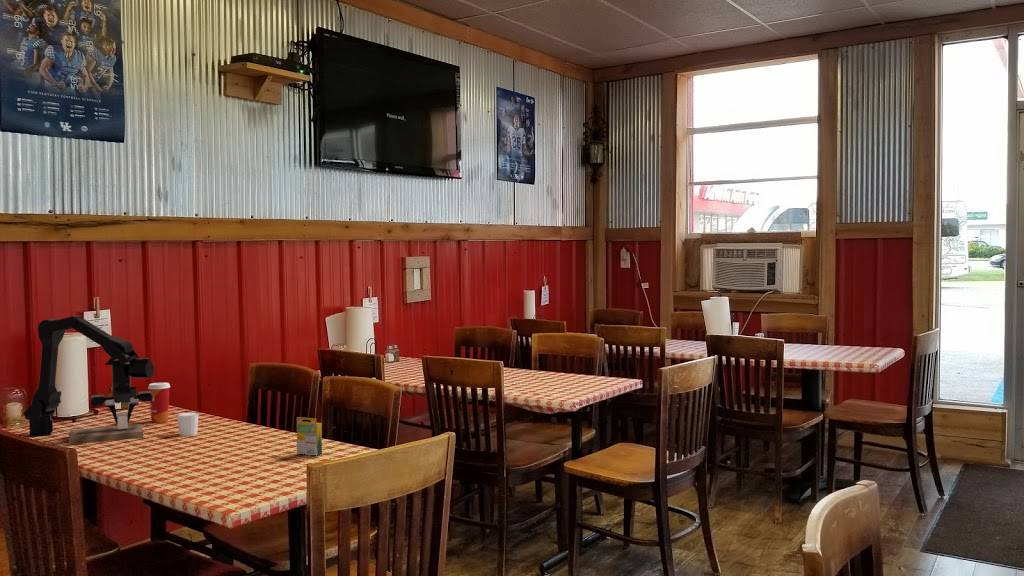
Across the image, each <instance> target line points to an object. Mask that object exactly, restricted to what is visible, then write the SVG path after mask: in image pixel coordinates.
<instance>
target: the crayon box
mask: <svg viewBox="0 0 1024 576" xmlns="http://www.w3.org/2000/svg"><path fill="white" fill-rule="evenodd" d="M303 420H305V421H303ZM306 420H307V421H306ZM322 425H323V424H322V422H317V417H316V418H315V417H314V418H313V417H302V416H297V417H296V454H303V455H302V456H311V455H316V456H315V457H318V456H317V455H319V456H321V455H322V454H323V436H322V435H323V431H322V430H323V427H322ZM304 454H305V455H304ZM320 454H321V455H320Z"/></svg>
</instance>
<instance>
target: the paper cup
mask: <svg viewBox="0 0 1024 576" xmlns="http://www.w3.org/2000/svg"><path fill="white" fill-rule="evenodd" d="M170 388H171V385H170V382H151V383H149V384H148V387H147V389H148V391H150V392H151V393H152V401H149V407H150V408H149V409H150V419H151V423H152V424H163V423H167V422H168V421H169V410H170V409H169V408H170Z"/></svg>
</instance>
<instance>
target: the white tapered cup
mask: <svg viewBox="0 0 1024 576" xmlns="http://www.w3.org/2000/svg"><path fill="white" fill-rule="evenodd" d="M199 415H200V414H199V413H198V412H183V413H179V414H177V416H176V417H177V425H178V426H177V427H178V434H179V436H180V437H191V436H196V435H197V434H198V427H199Z"/></svg>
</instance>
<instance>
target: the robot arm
mask: <svg viewBox="0 0 1024 576" xmlns="http://www.w3.org/2000/svg"><path fill="white" fill-rule="evenodd" d="M72 329H73V330H74V331H76V332H78V333H79V334H81V335H83V336H84V337H86V338H87V339H89V340H91V341H93V342H94V343H96V344H98V345H99V346H100V347H101V348H102V350H103V351H104V352H105V353H106V355H108V357H110V358H109V359H108V360H107V361H106V362H104V364H105V365H106V366H111V391H112V392H111V393H112V396H105V395H104V393H103V394H93V395H91V396H90V406H92V407H93V406H97V407H98V406H102V405H103V404H104V407H105V408H108V409H109V410H110V411H111V414H112V416H113V420H114V422H115V424H116V425H117V414H118V413H117V410H116V409H117V408H116V404H120V403H127V404H128V405H127V412H126V413H127V422H128V424H129V422H130V419H131V416H132V414H133V410H134V409H135V407H136V406H138V405H140V403H139V401H141V402H142V403H147V402H149V403H150V401H152V393H151V392H150V391H149V390H148V391H147V390H146V391H139V392H138V394H137V386H132V385H131V384H132V379H152V377H153V375H154V374H155V366H154V363H153V361H152V360H151V359H152V358H150V357H145V358H141V357H140V356H139V354H138V353H137V352H136V351H135V349H134V348H133V343H132V342H130V341H129V340H127V339H124V338H122V337H118V336H114V335H111V334H110V333H107V332H106V331H105V330H103V329H101V328H100V327H98V326H96V324H93V323H92V322H90V321H88V320H87V319H85V318H84V317H83V316H82V315H80V314H79V315H77V314H76V315H70V316H68V317H65V318H52V319H44V320H41V322H39V323H38V325H37V334H38V337H37V338H38V339H39V341H40V344H41V357H40V365H39V368H40V369H39V378H38V387H37V389H36V390H35V392H34V394H33V396H32V399H31V405H30V406H29V407H28V408H27V409H26V410H25V411H24V412H23V415H24V417H25V419H26V420H28V422H29V424H28V426H29V427H28V428H29V434H28V437H38V436H48V435H52V433H53V432H54V420H53V418H52V415H54V414H55V412H56V409H57V408H58V407H59V405H60V404H61V403H62V402H61V401H62V400H61V396H62V390H61V391H60V390H59V391H58V389H57V388H56V376H57V367H58V366H57V365H58V354H59V345H60V343H61V341H62V340H63V338H64V336H65V332H66V331H68V330H72ZM131 378H132V379H131Z"/></svg>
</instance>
